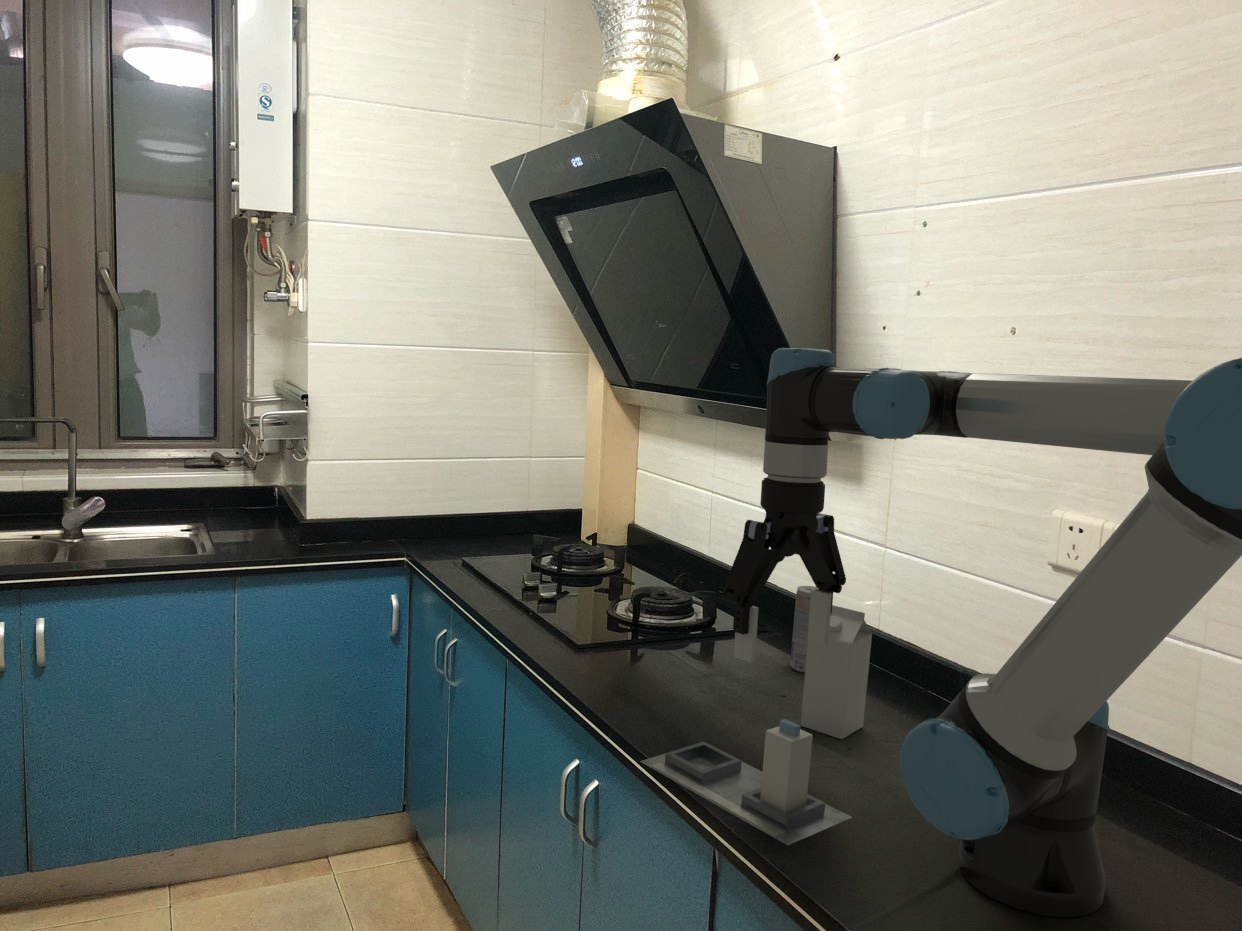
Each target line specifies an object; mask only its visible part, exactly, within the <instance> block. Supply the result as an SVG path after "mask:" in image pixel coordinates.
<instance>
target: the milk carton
mask: <svg viewBox="0 0 1242 931" xmlns="http://www.w3.org/2000/svg"><path fill="white" fill-rule="evenodd" d="M865 614H866V613H865V612H863V611H860V610H859V611H858V610H855V609H850V608H846V607H842V606H838V605H834V604H832V613H831V616H830V627H829V641H828V644H826V645H823V644H820V643H817V642H814V641H810V640H808V647H807V658H806V670H805V673H804V681H803V682H804V683H803V695H802V704H801V715H800V716H801V717H800V727H804V728H806V729H809V730H812V731H814V732H818V733H822V734H824V735H827V736H830V737H833V738H837V739H839V740H844V739H845V738H847V737H849V736H850V735H852V734H853V733H854V732H857V731H858V730H860V729H862V728H863V726H864V720H865V719H864V718H865V711H866V710H865V709H866V700H867V689H868V680H869V671H870V662H871V661H870V659H871V648H872V639H873V633H872V632H871V630H870V628H869V626H868V624H867V623H866V621H865Z"/></svg>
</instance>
